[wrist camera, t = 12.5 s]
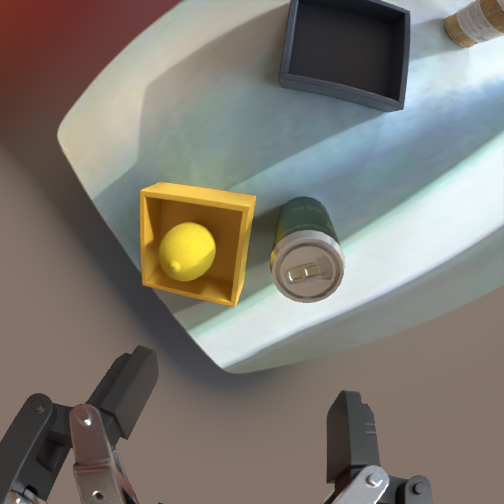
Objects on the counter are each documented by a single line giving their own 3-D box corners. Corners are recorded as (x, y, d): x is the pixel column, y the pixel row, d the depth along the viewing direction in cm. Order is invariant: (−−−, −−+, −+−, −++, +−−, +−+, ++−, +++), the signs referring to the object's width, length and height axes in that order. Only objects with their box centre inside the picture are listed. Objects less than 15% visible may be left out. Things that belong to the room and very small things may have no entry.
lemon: (221, 212, 30) (197, 239, 22) (225, 259, 32) (205, 297, 25) (174, 213, 31) (140, 239, 23) (181, 258, 33) (152, 292, 26)
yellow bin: (159, 181, 30) (139, 190, 26) (256, 195, 29) (249, 206, 25) (158, 267, 35) (142, 285, 30) (242, 285, 34) (235, 307, 30)
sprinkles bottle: (468, 23, 15) (530, -4, 3) (475, 53, 17) (544, 35, 5) (439, 11, 16) (497, -27, 4) (446, 42, 18) (513, 12, 5)
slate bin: (294, 0, 19) (293, -20, 15) (396, 25, 18) (410, 11, 14) (281, 87, 24) (278, 78, 20) (387, 112, 23) (403, 109, 19)
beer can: (286, 248, 31) (280, 312, 20) (272, 202, 29) (257, 247, 18) (333, 235, 29) (352, 295, 19) (321, 189, 28) (338, 225, 17)
